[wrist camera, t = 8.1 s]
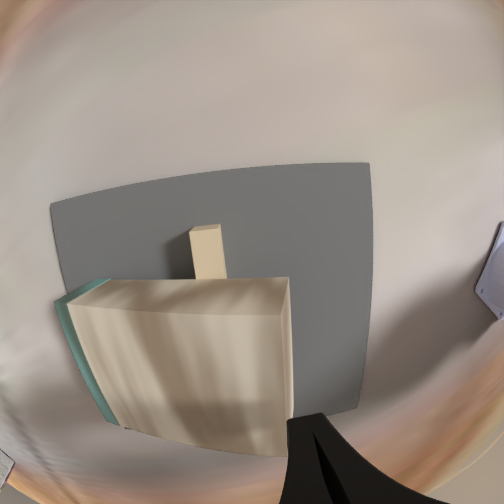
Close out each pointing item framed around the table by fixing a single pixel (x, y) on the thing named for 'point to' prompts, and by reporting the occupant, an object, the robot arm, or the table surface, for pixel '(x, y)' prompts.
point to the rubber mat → (247, 253)
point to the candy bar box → (5, 468)
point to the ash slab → (188, 358)
